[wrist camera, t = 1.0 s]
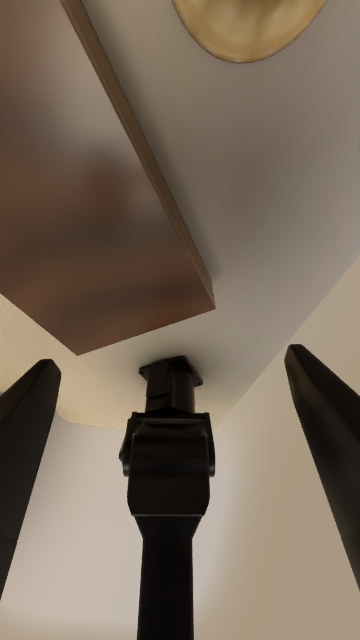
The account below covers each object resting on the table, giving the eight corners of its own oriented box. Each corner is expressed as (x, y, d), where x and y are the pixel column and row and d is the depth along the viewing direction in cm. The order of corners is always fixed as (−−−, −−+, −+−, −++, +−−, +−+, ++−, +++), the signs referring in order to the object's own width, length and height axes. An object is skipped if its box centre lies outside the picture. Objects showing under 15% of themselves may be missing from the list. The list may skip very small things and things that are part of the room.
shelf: (211, 279, 23) (215, 309, 20) (88, 326, 27) (77, 356, 24) (73, -17, 12) (37, -46, 9) (-104, 142, 16) (-167, 158, 13)
